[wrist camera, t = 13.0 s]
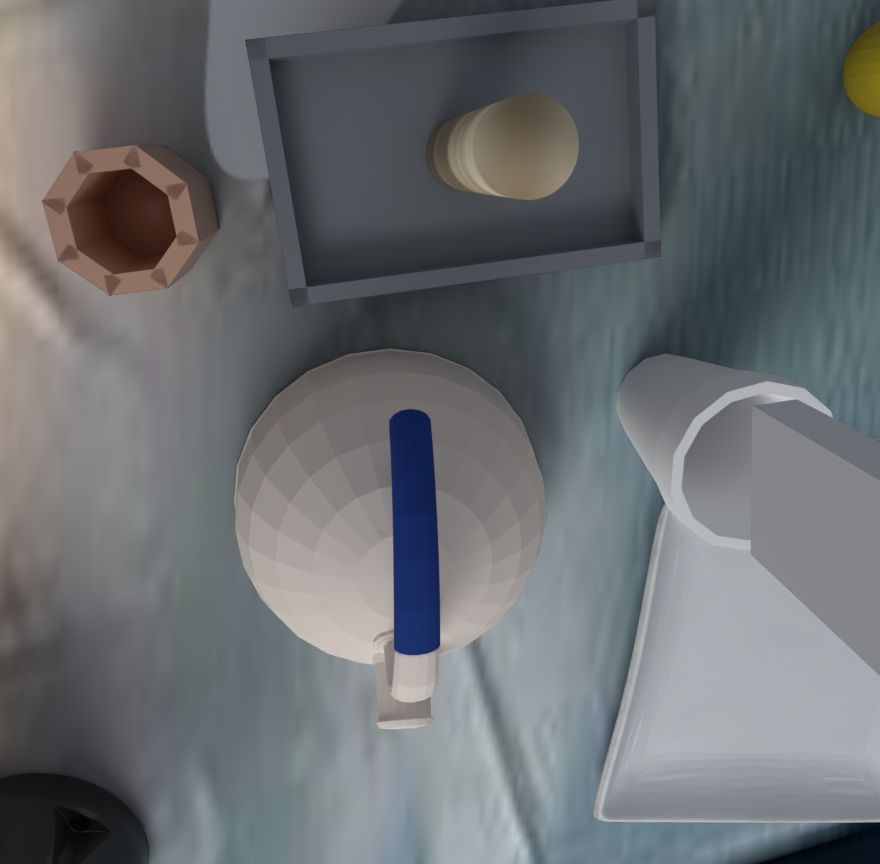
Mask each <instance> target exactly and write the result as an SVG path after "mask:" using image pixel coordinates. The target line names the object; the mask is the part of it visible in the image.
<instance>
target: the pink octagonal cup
mask: <svg viewBox="0 0 880 864" xmlns="http://www.w3.org/2000/svg"><path fill="white" fill-rule="evenodd" d="M209 180H210V179H209V178H207V177H206V176H204V175H203V174H202V173H200V172H199V171H198V170H196V169H195V168H194V167H192V166H191V165H190V164H188V163H187V162H186V161H184V160H183V159H182V158H180V157H179V156H178V155H177V154H175V153H174V152H173V151H171V150H170V149H169V148H167V147H166V146H152V145H135V144H134V145H131V146H123V147H114V148H106V149H97V150H89V151H80V152H77V151H75V152H73V155H72V156H71V158H70V159H69V161H68V163H67V164H66V166H65V167H64V169H63V170H62V172H61V173H60V175H59V176H58V178H57V179H56V181H55V182H54V184H53V185H52V187H51V189H50V190H49V192H48V193H47V195H46V196H45V198H44V199H43V200H42V202H43V206H44V210H45V213H46V217H47V221H48V225H49V228H50V232H51V236H52V240H53V243H54V247H55V251H56V255H57V259H58V261H59V262H61V263H62V264H64V265H65V266H67V267H68V268H70V269H71V270H73V271H74V272H76V273H77V274H79V275H80V276H81V277H83V278H84V279H86V280H87V281H89V282H90V283H92V284H93V285H95V286H96V287H98V288H99V289H101V290H102V291H104V292H105V293H107V294H108V295H109V296H112V295H119V294H126V293H134V292H141V291H149V290H157V289H164V288H166V289H167V288H169V287H170V286H171V285H172V284H173V283H175V282H176V281H177V280H178V279H179V278H181V277H182V276H183V275H184V274H185V273H187V272H188V271H189V270H190V269H191V268H193V265H194V264H195V262H196V261H197V260H198V258H199V257H200V255H201V254H202V252H203V251H204V250H205V248H206V247H207V245H208V244H209V243H210V241H211V240H212V238H213V237H214V235H215V234H216V233H217V231H218V230H219V226H218V221H217V216H216V211H215V206H214V201H213V196H212V191H211V186H210V181H209Z"/></svg>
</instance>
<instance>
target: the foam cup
mask: <svg viewBox="0 0 880 864" xmlns="http://www.w3.org/2000/svg"><path fill="white" fill-rule="evenodd" d="M794 399H797V400H799V401H801V402H803V403H805V404H807V405H809V406H811V407H813V408H815V409H817V410H819V411H820V412H822V413H824V414H826V415H828V416H830V417H832V418H833V416H832V413H831V411H830V410H829V409H828V408H827V407H825V406H824V405H823V404H822V403H821V402H820V401H818V400H817V399H816V398H815V397H814V396H813V395H811V394H810V393H809V392H808V391H807V390H806V389H805V388H803V387H801V386H799V385H797V384H795V383H793V382H790V381H788V380H786V379H784V378H782V377H780V376H775V375H770V374H764V373H759V372H754V371H749V370H742V371H740V370H736V369H732V368H728V367H724V366H720V365H716V364H712V363H708V362H704V361H700V360H696V359H691V358H687V357H682V356H676V355H671V354H666V353H665V354H661V355H657V356H654V357H650V358H646V359H644V360H643V361H642V362H640V363H639V364H638V365H637V366H635V367H634V368H633V369H632V370H630V371H629V372H628V373H627V375H626V377H625V379H624V381H623V383H622V385H621V386H620V388H619V390H618V397H617V414H618V416H619V418H620V421H621V423H622V425H623V428H624V429H625V431H626V433H627V435H628V437H629V438H630V440H631V442H632V443H633V445H634V447H635V448H636V450H637V452H638V453H639V455H640V457H641V458H642V460H643V461H644V463H645V465H646V466H647V468H648V470H649V471H650V473H651V475H652V476H653V478H654V480H655V481H656V483H657V485H658V488H659V490H660V492H661V494H662V497H663V499H664V501H665V504H666V506H667V508H668V509H669V510H670V511H671V512H672V513H673V514H674V515H675V516H676V517H677V518H678V519H679V520H680V521H681V522H682V523H683V524H684V525H685V526H686V527H688V528H689V529H690V530H692V531H693V532H694V533H696V534H697V535H698V536H700V537H701V538H702V539H704V540H705V541H707V542H708V543H709V544H711V545H713V546H720V547H727V548H734V549H741V550H750V549H751V485H752V411H753V406H755V405H762V404H768V403H775V402H781V401H788V400H794Z"/></svg>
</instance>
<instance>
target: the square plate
mask: <svg viewBox="0 0 880 864" xmlns="http://www.w3.org/2000/svg"><path fill="white" fill-rule="evenodd" d="M593 814H594V816H595V818H596V819H598V820H602V821H613V822H790V823H810V822H880V676H879V675H878V674H877V673H876V672H875V671H874V670H873V669H872V668H871V667H870V666H869V665H867V664H866V663H865V662H864V661H863V660H862V659H861V658H860V657H859V656H858V655H857V654H856V653H855V652H854V651H853V650H852V649H850V648H849V647H848V646H847V645H846V644H845V643H844V642H843V641H842V640H841V639H840V638H839V637H838V636H837V635H836V634H835V633H833V632H832V631H831V630H830V629H829V628H828V627H827V626H826V625H825V624H824V623H823V622H822V621H821V620H820V619H819V618H818V617H816V616H815V615H814V614H813V613H812V612H811V611H810V610H809V609H808V608H807V607H806V606H805V605H804V604H803V603H802V602H801V601H799V600H798V599H797V598H796V597H795V596H794V595H793V594H792V593H791V592H790V591H789V590H788V589H787V588H786V587H785V586H784V585H782V584H781V583H780V582H779V581H778V580H777V579H776V578H775V577H774V576H773V575H772V574H771V573H770V572H769V571H768V570H767V569H766V568H764V567H763V566H762V565H761V564H760V563H759V562H758V561H757V560H756V559H755V558H754V557H753V556H752V555H751V549H750V550H741V549H734V548H727V547H720V546H713V545H711V544H709V543H708V542H707V541H705V540H704V539H702V538H701V537H700V536H698V535H697V534H696V533H694V532H693V531H692V530H690V529H689V528H688V527H686V526H685V525H684V524H683V523H682V522H681V521H680V520H679V519H678V518H677V517H676V516H675V515H674V514H673V513H672V512H671V511H670V510H669V509H668V508H667V506H666V504H665V503H664V505H663V506H662V509H661V512H660V515H659V519H658V522H657V526H656V531H655V536H654V540H653V545H652V550H651V555H650V561H649V567H648V572H647V578H646V584H645V589H644V595H643V601H642V607H641V612H640V617H639V622H638V627H637V633H636V638H635V643H634V648H633V653H632V658H631V662H630V666H629V671H628V675H627V680H626V684H625V688H624V692H623V696H622V700H621V704H620V708H619V712H618V716H617V720H616V723H615V727H614V730H613V734H612V738H611V741H610V745H609V748H608V752H607V755H606V759H605V762H604V766H603V770H602V774H601V777H600V781H599V785H598V789H597V793H596V797H595V802H594V808H593Z"/></svg>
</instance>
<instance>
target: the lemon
mask: <svg viewBox="0 0 880 864" xmlns="http://www.w3.org/2000/svg"><path fill="white" fill-rule="evenodd" d="M843 83H844V89H845V91H846V93H847V95H848V97H849V99H850V100H851V101H852V103H853V104H854V105H855V106H856V107H857V108H859V109H860V110H862V111H863V112H865V113H867V114H869V115H873V116H877V117H880V21H878V22H876V23H875V24H873V25H872V26H871V27H869V28H868V29H867V30H866V31H865V32H863V33H862V34H861V35H860V36H859V38H858V39H857V40H856V41H855V43H854V44H853V45H852V47H851V49H850V51H849V53H848V55H847V57H846V60H845V63H844V67H843Z"/></svg>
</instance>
